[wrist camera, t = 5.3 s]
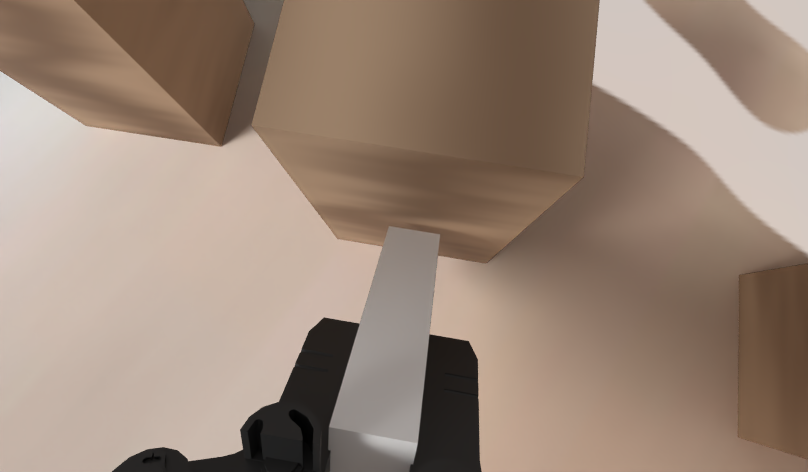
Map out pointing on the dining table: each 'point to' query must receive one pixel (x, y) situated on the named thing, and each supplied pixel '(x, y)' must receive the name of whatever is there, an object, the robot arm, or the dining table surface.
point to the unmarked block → (431, 113)
